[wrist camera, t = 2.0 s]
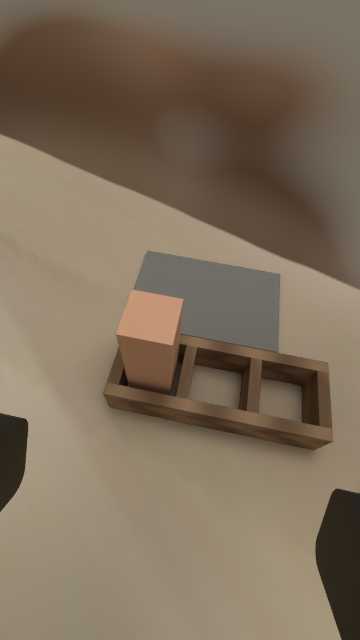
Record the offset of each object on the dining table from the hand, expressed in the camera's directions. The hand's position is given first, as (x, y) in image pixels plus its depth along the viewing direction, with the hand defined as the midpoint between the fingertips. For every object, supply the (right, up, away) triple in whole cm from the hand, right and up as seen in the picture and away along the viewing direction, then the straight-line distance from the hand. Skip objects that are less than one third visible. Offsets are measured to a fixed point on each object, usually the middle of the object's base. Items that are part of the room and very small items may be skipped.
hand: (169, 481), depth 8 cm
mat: (+4, +7, +36) cm, 37 cm away
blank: (-3, -3, +29) cm, 30 cm away
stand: (+4, -4, +29) cm, 30 cm away
